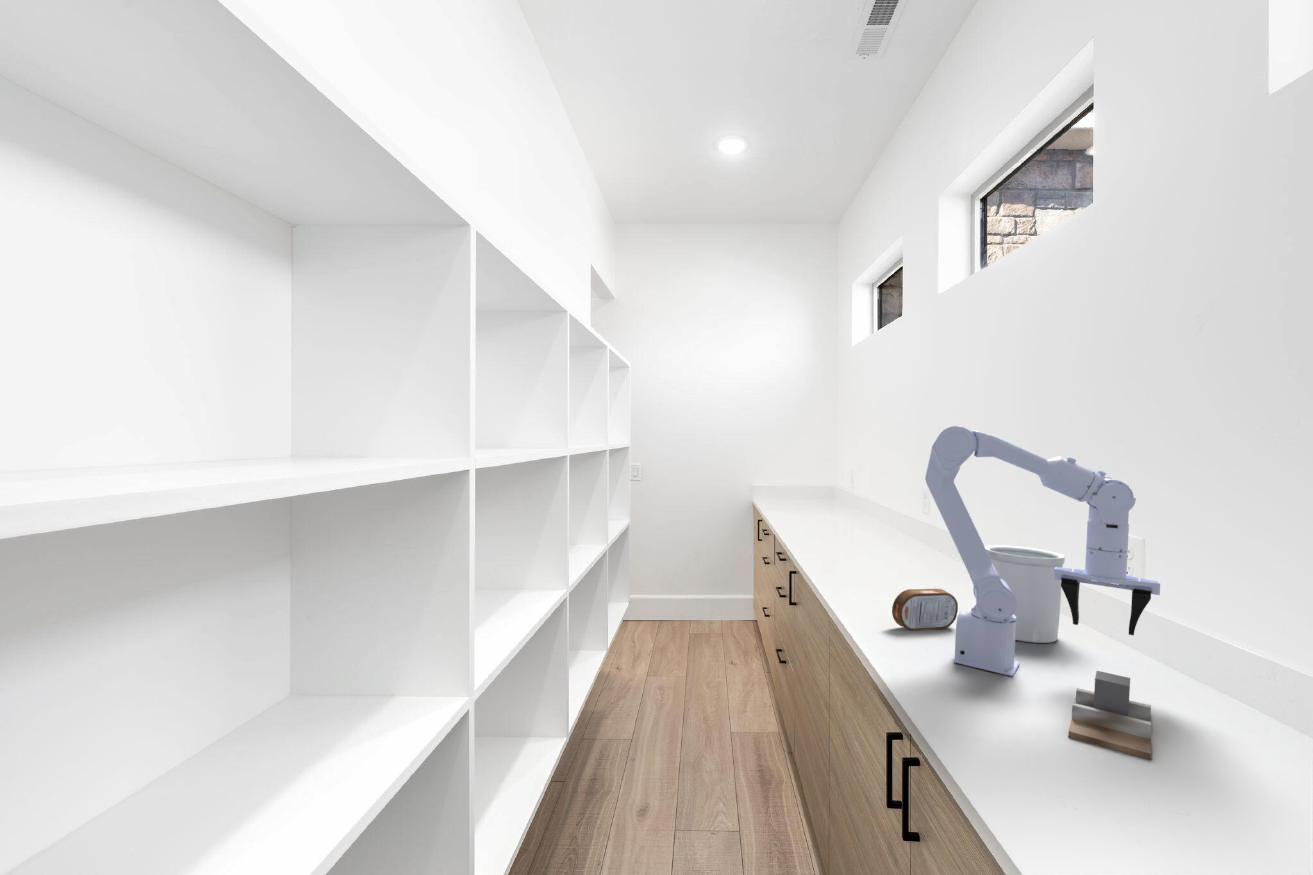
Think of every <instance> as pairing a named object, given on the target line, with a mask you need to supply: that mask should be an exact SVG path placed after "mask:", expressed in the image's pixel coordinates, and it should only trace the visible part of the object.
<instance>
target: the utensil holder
mask: <svg viewBox="0 0 1313 875" xmlns="http://www.w3.org/2000/svg"><path fill="white" fill-rule="evenodd" d="M984 546H985V545H984ZM985 549H986V551H987V553H988V555H989V557H990V559H991V561H992V563H993V565H994V567H995V569H996V571H997V573H998V574H999V575H1000V576H1001V577H1002V578H1003V579H1004V580H1006V582H1007V583H1008V584H1009V586H1010V588H1011V591H1012V592H1013V594H1014V595H1015V597H1016V600H1017V608H1016V611H1015V613H1014V615H1015V616H1016V633H1015V641H1019V642H1025V643H1036V644H1049V643H1053V642H1056V641H1057V640H1058V636H1059V635H1058V634H1059V625H1060V617H1061V616H1060V615H1061V614H1060V613H1061V601H1062V600H1061V598H1062V587H1061V580H1055V579H1054V569H1055V567H1060V568H1064V567H1063V566H1064V564H1065V560H1066V559H1065V555H1064V554H1061V553H1058V552H1054V551H1050V550H1045V549H1040V548H1039V549H1038V548H1033V547H1026V546H1024V547H1023V546H1014V545H1001V544H994V545H993V544H991V545H986V546H985Z"/></svg>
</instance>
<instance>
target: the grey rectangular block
mask: <svg viewBox="0 0 1313 875" xmlns="http://www.w3.org/2000/svg"><path fill="white" fill-rule="evenodd" d="M1094 676H1095V677H1094V691H1093V692H1094V708H1096V709H1100V710H1104V711H1108V712H1112V713H1116V714H1120V715H1124V716H1128V715H1129V701H1130V693H1131V691H1130V690H1131V677H1127V676H1125V675H1124V676H1123V675H1119V674H1113V673H1109V672H1104V671H1100V670H1096V671H1095V675H1094Z"/></svg>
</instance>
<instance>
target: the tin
mask: <svg viewBox="0 0 1313 875" xmlns="http://www.w3.org/2000/svg"><path fill="white" fill-rule="evenodd" d="M958 604H959V602H958V601H957V599H956V597H955V596H954V595H953V594H951V593H949V592H948V591H946V590H944V589H942V588H916V589H915V588H910V589H905V590H903V591H902V592H900V593H899V594H898V595H897V596H896V597H895V599H894V601H893V604H892V607H891V615H892V617H893V620H894V622H895V623H896V624H897V625H899V626H900V627H902V628H904V629H906V630H909V631H931V630H943V629H947V628H949V627H950V626H951V625H953V624H954V622H955V621H956V620H957V617H958V613H959V612H958V611H959V608H958V607H959V605H958Z"/></svg>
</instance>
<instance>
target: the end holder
mask: <svg viewBox="0 0 1313 875" xmlns="http://www.w3.org/2000/svg"><path fill="white" fill-rule="evenodd" d="M1075 690H1076V691H1075V702H1072V704H1071V705H1072V706H1071V720H1070V724H1069V728H1068V733H1067V734H1068V736H1067V737H1068V738H1071V739H1074V740H1078V741H1081V742H1082V741H1083V742H1086V743H1089V744H1093V745H1096V746H1099V747H1103V748H1107V749H1110V750H1115V751H1118V752H1121V753H1125V754H1129V755H1132V756H1137V757H1139V758H1143V759H1146V760H1150V761H1152V726H1153V725H1152V721H1151V717H1152V716H1151V712H1152V711H1151V710H1152V705H1151V704H1146V703H1142V702H1137V701H1132V700H1129V715H1128V716H1124V715H1120V714H1116V713H1112V712H1108V711H1104V710H1100V709H1096V708H1094V691H1091V690H1086V689H1083V688H1078V687H1077V688H1076V689H1075Z"/></svg>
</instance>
